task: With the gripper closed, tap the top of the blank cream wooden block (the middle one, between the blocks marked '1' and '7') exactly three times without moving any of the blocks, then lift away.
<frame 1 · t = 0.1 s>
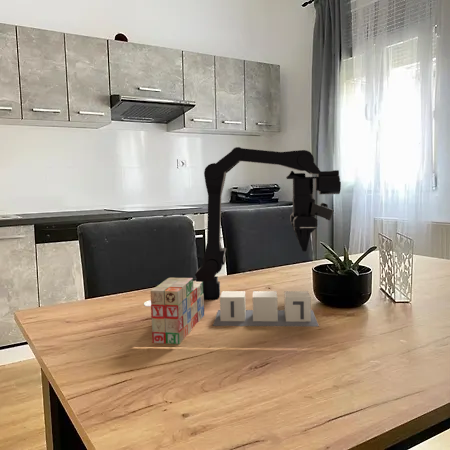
hand: (303, 248, 130), 15 cm above the table, tool pointing down, fingers open, 9 cm apart
spoon: (161, 299, 135), on the table
digit block 7: (297, 317, 112), resting on tap mat
digit block 1: (233, 317, 113), resting on tap mat
blank block: (265, 317, 113), resting on tap mat
stack of blocks: (180, 330, 107), on the table
tap mat: (265, 319, 113), on the table
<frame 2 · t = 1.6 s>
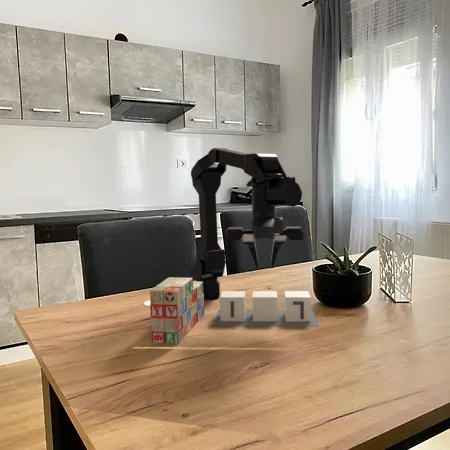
hand: (264, 268, 112), 13 cm above the table, tool pointing down, fingers open, 3 cm apart
nothing on the table moved.
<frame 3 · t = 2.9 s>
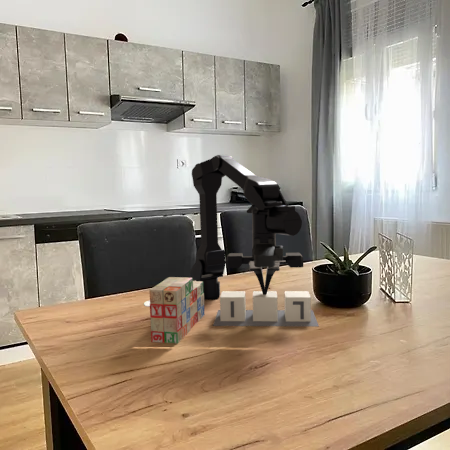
hand: (264, 294, 112), 6 cm above the table, tool pointing down, fingers closed, pressing on blank block
blank block: (265, 317, 113), resting on tap mat, touching gripper
everything else where it was.
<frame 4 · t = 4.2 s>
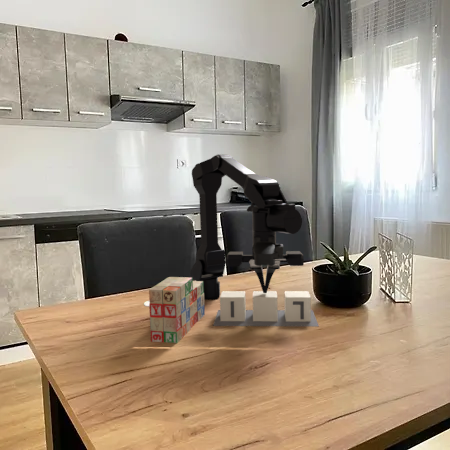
hand: (264, 292, 112), 7 cm above the table, tool pointing down, fingers closed
blank block: (265, 317, 113), resting on tap mat
everything else where it was.
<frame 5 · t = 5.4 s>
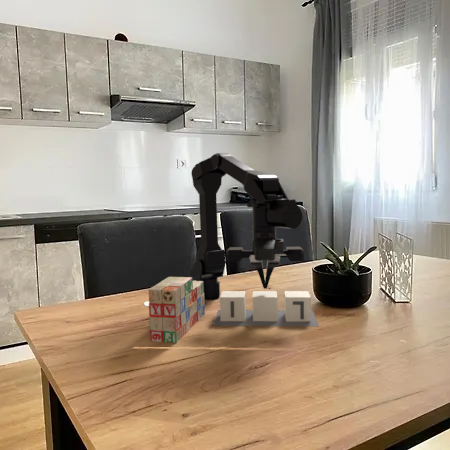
hand: (265, 288, 112), 8 cm above the table, tool pointing down, fingers closed
nothing on the table moved.
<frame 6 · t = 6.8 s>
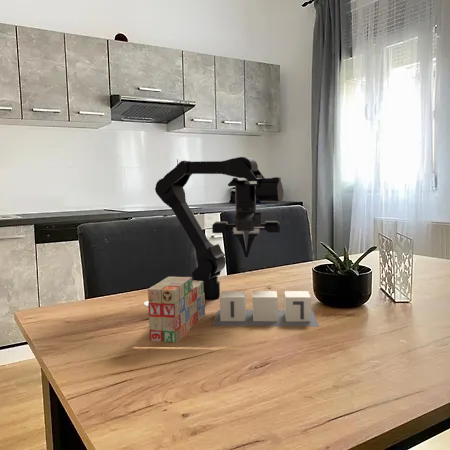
hand: (246, 257, 128), 13 cm above the table, tool pointing down, fingers closed
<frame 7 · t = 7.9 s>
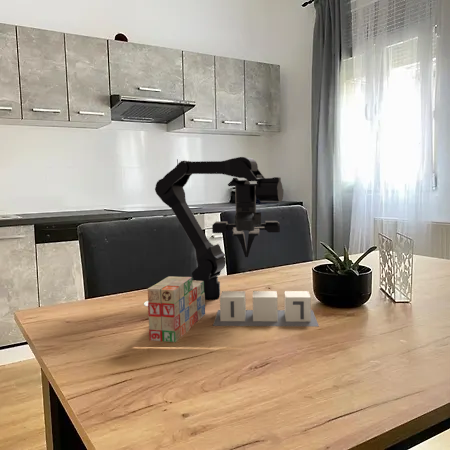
hand: (246, 257, 128), 13 cm above the table, tool pointing down, fingers closed
at the end: blank block moved 0.0 cm from its start; digit block 1 moved 0.0 cm from its start; digit block 7 moved 0.0 cm from its start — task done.
